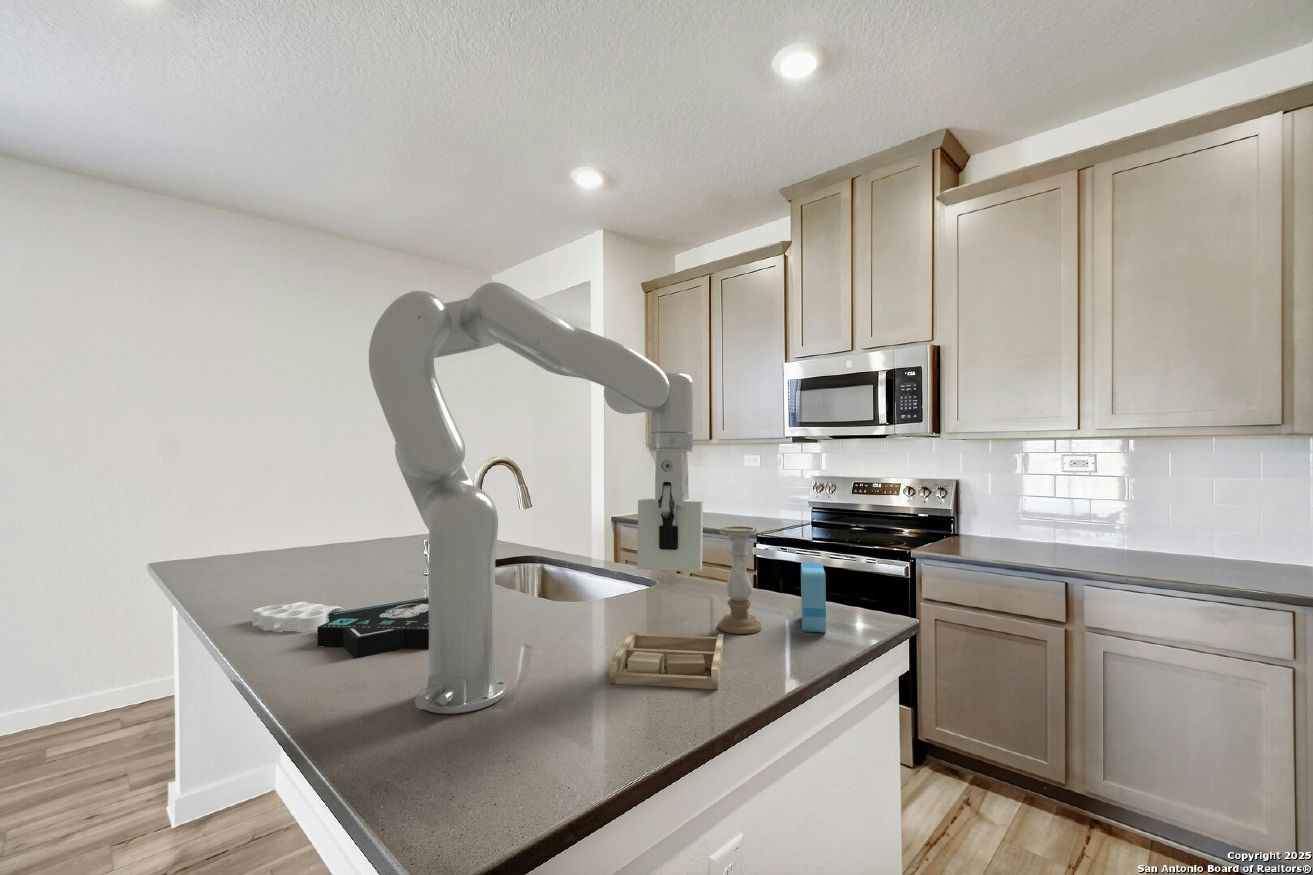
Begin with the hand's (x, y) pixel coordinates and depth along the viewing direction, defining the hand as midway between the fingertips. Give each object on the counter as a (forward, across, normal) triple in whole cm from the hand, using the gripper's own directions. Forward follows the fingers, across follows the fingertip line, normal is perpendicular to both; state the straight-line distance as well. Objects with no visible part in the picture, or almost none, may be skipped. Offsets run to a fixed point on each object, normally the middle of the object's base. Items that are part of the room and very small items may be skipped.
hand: (670, 546), depth 106 cm
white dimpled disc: (+22, +11, +83) cm, 86 cm away
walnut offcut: (+20, -8, -4) cm, 22 cm away
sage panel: (+4, 0, 0) cm, 4 cm away
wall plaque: (+21, +8, +56) cm, 61 cm away
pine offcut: (+20, -8, +3) cm, 22 cm away
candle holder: (+19, +20, -12) cm, 30 cm away
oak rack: (+20, -4, -1) cm, 20 cm away
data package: (+19, +24, -27) cm, 40 cm away
